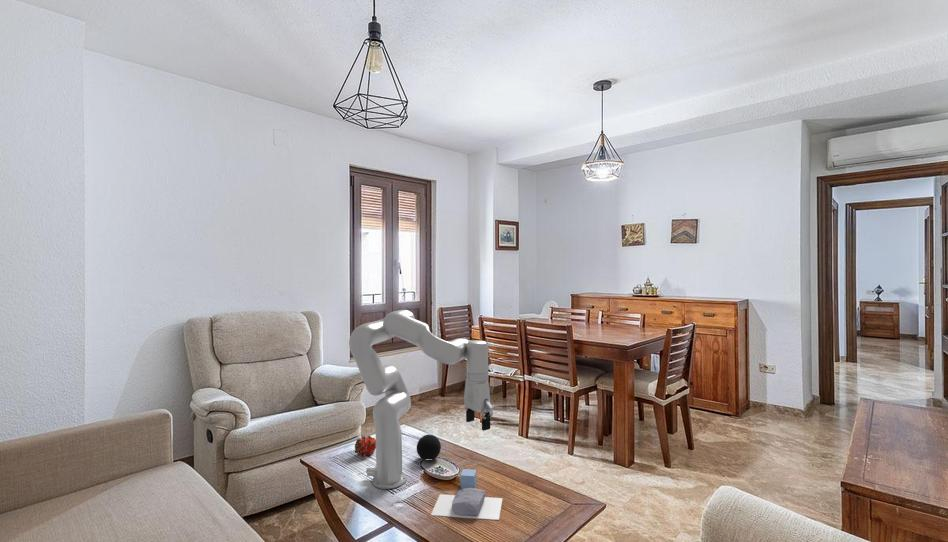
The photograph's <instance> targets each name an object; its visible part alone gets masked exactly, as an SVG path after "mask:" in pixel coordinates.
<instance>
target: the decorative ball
mask: <svg viewBox="0 0 948 542" xmlns="http://www.w3.org/2000/svg"><path fill="white" fill-rule="evenodd" d="M441 449H442V445H441V442H440V440H439V438H438V437H437V436H435V435H433V434H424V435H423V436H421V437H420V438H419V440H418V441H417V444H416V452H417V454H418V456H419V457H420V459H422V460H424V461H426V460H425V459H433V460H435V459H437V457H438V456H439V455H440V453H441Z"/></svg>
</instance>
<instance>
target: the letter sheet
mask: <svg viewBox="0 0 948 542" xmlns="http://www.w3.org/2000/svg"><path fill="white" fill-rule="evenodd" d="M455 495H456V494H455ZM455 495H454V494H442V493H441V494H439V495H438V497H437V499H436V502H435V504H434V507H433V509H432V511H431V513H430V516H431V517H432V516H433V517H434V516H435V517H449V518H461V519H477V520H491V521H492V520H493V521H500V517H501V510H502V504H503V497H491V496H490V497H489V496H485V499H484V502H483V504H482V507H481V510H480V512H479V515H478V516H468V515H463V516H462V515H459V514H455V513H454V512H453V510H452V501H453V499H454V497H455Z"/></svg>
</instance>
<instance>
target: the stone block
mask: <svg viewBox="0 0 948 542" xmlns="http://www.w3.org/2000/svg"><path fill="white" fill-rule="evenodd" d="M485 497H486V491H485V490H484V489H479V488H476V487H475V488H466V489H459V490H458V491H457V493H456V494H455V497H454V499H453V501H452V510H453V512H454V513H455V514H459V515H462V516H463V515H468V516H478V515H479V512H480V510H481V507H482V504H483V502H484V499H485Z"/></svg>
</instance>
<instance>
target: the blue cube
mask: <svg viewBox="0 0 948 542" xmlns="http://www.w3.org/2000/svg"><path fill="white" fill-rule="evenodd" d="M476 486H477V469H469V468H465V469H464V468H463V469H462V471H461V473H460V490H462V489H466V488H476Z"/></svg>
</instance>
